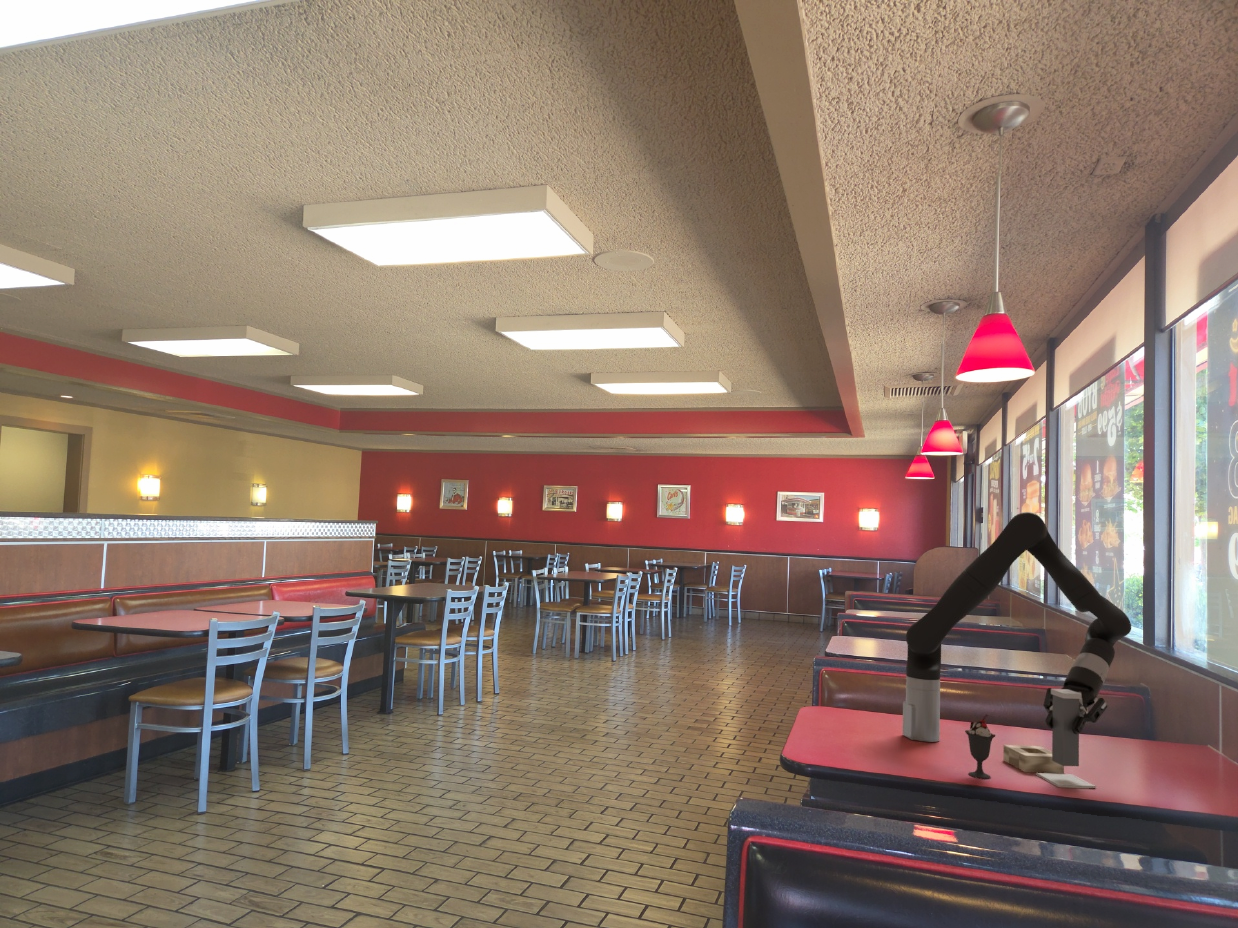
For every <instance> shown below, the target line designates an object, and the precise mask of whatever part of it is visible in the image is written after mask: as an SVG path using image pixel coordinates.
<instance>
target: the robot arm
mask: <svg viewBox="0 0 1238 928" xmlns="http://www.w3.org/2000/svg"><path fill="white" fill-rule="evenodd" d="M1026 551H1027V552H1028V553H1029V554H1030V555H1031V556H1033V557H1034V558H1035V559H1036V561H1038V563H1039V564H1041V566H1042V567H1043V568H1044V570H1046V572H1047V573H1048V575H1049V576H1050V577H1051V579H1052V580H1053V582H1054V583H1055V585H1056V586H1057V587H1058V589H1059V590H1060V591H1061V592H1062V594H1063V595H1064V596H1065V597H1066V599H1067V600H1068V601H1069V602H1070V603H1071V604H1072V606H1073V607H1074V608H1075V610H1077V611H1078V612H1079V613H1091V614H1092V615H1094V617H1096V618H1094V620H1093V621H1092V622H1091V623H1090V624H1089V626H1088V628H1087V630H1086V633H1085V639H1084V644H1083V645H1082V648H1081V649H1080V651H1079V654H1078V656H1077V657H1076V659H1074V662H1073V663H1072V665H1071V668H1070V669H1069V672H1068V673H1067V675H1066V678H1065V679H1064V682H1063V686H1062V687H1061V688H1060V689H1069V690H1072V691H1075V692H1078V693H1080V694H1081V699H1079V713H1078V714H1079V717H1076V719H1075V721H1074V723H1073V726H1072V731H1073V733H1074V734H1077V735H1078V733H1079V734H1080V733H1081V732H1083V729H1084V728H1085V725H1086V724H1087V723H1089V722H1090V723H1093V724H1095V723H1097V721H1098V720H1099V719H1100V717H1101V716H1102V715H1103V714H1104V713H1105V711H1106V709H1108V706H1109V705H1108V704H1107V702H1106V701H1105V699H1104V697H1099V698H1098V696H1099V694H1100V692H1101V689H1102V688H1103V685H1104V683H1105V681H1106V679H1107V676H1108V673H1109V670H1110V668H1111V665H1112V663H1113V661H1114V659H1115V656H1116V655H1115V654H1116V652H1115V648H1114V646H1115V645H1116V643H1117V642H1118V641H1120V640H1121V639H1123V638H1124V637H1126V636H1128V635H1129V634H1130V633H1131V631H1132V623H1131V621H1130V618H1129V617H1128V615H1127V614H1126V613H1125V612H1124V611H1123V610H1122V609H1121V608H1119V607H1118V606H1117V605H1115V604H1114V603H1113V602H1111V601H1110V600H1109V599H1107V598H1106V597H1104V596H1103V595H1102V594H1100V592H1099V591H1098V590H1097V589H1096V588H1095V587H1094V585H1093V584H1092V583H1091V582H1090V580H1089V579H1088V578H1087V577H1086V575H1084V574H1083V573H1082V572H1081V571H1080V569H1078V567H1076V565H1074V563H1073V562H1072V561H1070V560H1069V558H1067V556H1066V555H1065V553H1064V552H1063V551H1062V550H1061V549H1060V548H1059V546H1058V544H1056V542H1055V540H1054V539H1053V537H1052V536H1051V534H1050V533H1049V531H1048V528H1047V525H1046V523H1045V521H1044V520H1043V519H1042V517H1040V515H1038V514H1036V513H1034V512H1031V511H1024V512H1019V513H1017V514H1016V515H1014V516H1013V517H1012V518H1011V519H1010V520H1009V521H1008V523H1007V524H1006V526H1005V527H1004V529H1002V531H1001V532H1000V533H999V535H998V536H997V537H996V538H995V540H994V541H993V542H992V543H991V544H990V545H989V546H988V547H987V548H986V549H985V550H984V551H983V552H982V553H981V554H979V555H978V556H976V558H975V559H974V560H973V561H972V562H971V563H970V564H969V565H968V566H967V567H966V568H965V569H964V570H962V571H961V573H960V574H959V575H958V576H957V577H956V578H955V579H954V580H953V582H951V584H950V585H949V586H948V587H947V589H946V590H945V591H944V593H943V594H942V596H941V597H940V598H939V599H938V601H937V603H936V604H935V605H934V606H933V607H932V608H931V609H930V610H929V611H927V613H926V614H925V615H923V616H922V617H921V618H920V619H918V621H916V622H913V623H912V624H911V625H910V626H909V627H908V629H907V631H906V634H905V641H906V644H907V657H906V667H905V670H906V672H905V675H906V676H905V679H906V680H905V700H904V701H902V735H903V736H904V737H906V738H907V739H909V740H910V741H911V740H912V741H919V742H927V743H936V742H939V741H940V740H941V739H940V735H941V731H940V728H941V725H940V721H941V719H940V718H941V717H940V716H941V715H940V713H941V670H942V642H943V641H944V640H945V638H946V637H947V635H948V634H949V633H950V631H951V630H953V628H955V626H956V625H957V624H958V623H959V622H960V621H962V619H964V618H966V617H967V616H968V615H969V614H971V613H972V612H973V611H974V610H975V609H976V608H978V606H980V605H981V604H982V603H983V602H984V601H985V600H986V599H987V598H988V597H989V596H990V595H991V594H992V593H993V592H994V591H995V589H996V588H997V587H998V586H999V584H1000V582H1002V580H1003V579H1004V577H1005V575H1006V574H1007V572H1008V571H1009V569H1010V567H1011V566H1012V565H1013V563H1014V562H1015V561H1016V560H1017V559H1018V558H1019V557H1020V556H1022V554H1024V553H1025V552H1026ZM1051 689H1052V688H1051V687H1048V688H1047V689H1046V692H1045V696H1044V697H1045V698H1044V699H1043V700H1044V701H1043V707H1044V709H1045V710H1046V712H1047V716H1046V718H1045V723H1046V726H1047V727H1048V729H1052V728H1053V694H1051ZM1091 706H1092V707H1091ZM1089 707H1091V708H1090V709H1089ZM1088 709H1089V710H1088Z"/></svg>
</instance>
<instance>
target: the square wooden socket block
mask: <svg viewBox="0 0 1238 928" xmlns="http://www.w3.org/2000/svg"><path fill="white" fill-rule="evenodd" d="M1003 761H1005V762H1006V763H1008V764H1009V765H1011V766H1012V767H1015V768H1017V769H1018V768H1019V769H1018V770H1020V769H1021V771H1022V770H1023V771H1022V772H1024V773H1038V772H1044V773H1053V774H1065V766H1062V765H1060V764H1058V763H1056V762H1054V761H1052V750H1049V749H1047V748H1046V747H1043V746H1038V745H1021V744H1020V745H1019V744H1018V745H1015V744H1003Z"/></svg>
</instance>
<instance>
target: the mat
mask: <svg viewBox="0 0 1238 928" xmlns="http://www.w3.org/2000/svg"><path fill="white" fill-rule="evenodd" d="M1035 773H1036V776H1037V777H1038V778H1040V777H1042V778H1043V780H1044V779H1045V782H1046V781H1047V782H1048V781H1049V782H1048V783H1049V784H1052V785H1054V786H1055V787H1057V788H1067V789H1068V788H1070V789H1071V788H1072V789H1089V788H1096V789H1097V786H1096V785H1095V784H1092V783H1091V782H1088V781H1086V780H1084V779H1082V778H1080V777H1078V776H1076V775H1075V774H1072V773H1071V774H1070V773H1064V774H1061V773H1038V772H1035ZM1042 778H1041V779H1042Z"/></svg>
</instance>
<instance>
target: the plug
mask: <svg viewBox="0 0 1238 928" xmlns="http://www.w3.org/2000/svg"><path fill="white" fill-rule="evenodd" d="M1051 694H1053V728H1051V729H1052V733H1051V734H1052V736H1051V737H1052V739H1051V740H1052V742H1051V743H1052V744H1051V747H1052V750H1051V751H1052V761H1054V762H1056V763H1058V764H1060V765H1062V766H1064V767H1080V761H1079V760H1080V733H1078V735H1077V734H1074V733H1073V731H1072V726H1073V723H1074V721H1075V719H1076V717H1079V714H1078V713H1079V699H1081V694H1080V693H1078V692H1075V691H1072V690H1069V689H1061V688H1051Z"/></svg>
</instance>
